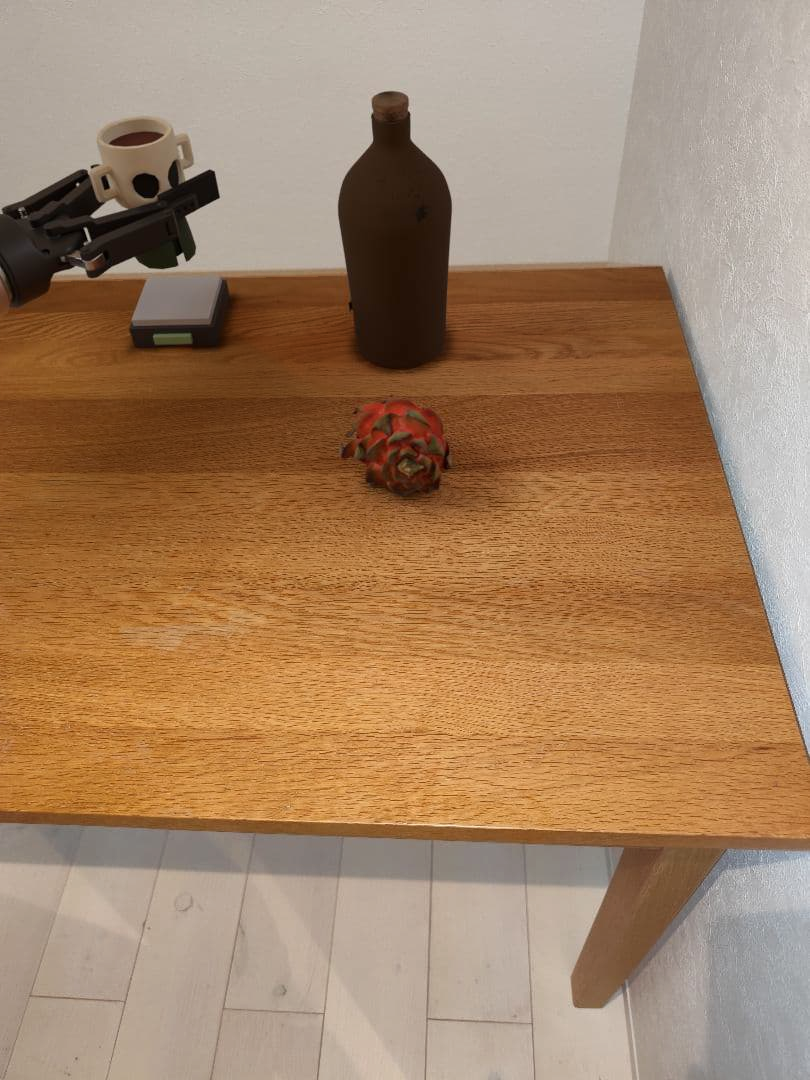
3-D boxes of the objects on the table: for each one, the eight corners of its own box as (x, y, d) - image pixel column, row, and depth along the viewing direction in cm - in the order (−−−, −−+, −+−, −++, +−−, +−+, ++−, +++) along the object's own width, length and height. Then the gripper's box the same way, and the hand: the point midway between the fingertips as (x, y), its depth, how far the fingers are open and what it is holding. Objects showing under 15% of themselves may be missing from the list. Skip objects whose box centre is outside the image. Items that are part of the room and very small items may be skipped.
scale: (133, 350, 95) (125, 325, 93) (151, 299, 101) (144, 274, 99) (217, 349, 95) (211, 323, 92) (230, 298, 101) (225, 272, 99)
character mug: (140, 292, 88) (102, 163, 78) (103, 266, 92) (62, 139, 82) (230, 250, 93) (204, 123, 83) (191, 226, 97) (163, 102, 87)
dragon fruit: (433, 534, 78) (364, 471, 86) (493, 457, 77) (419, 401, 85) (373, 496, 72) (305, 432, 80) (438, 412, 71) (363, 356, 79)
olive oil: (468, 329, 95) (474, 85, 77) (420, 385, 89) (413, 135, 71) (383, 303, 99) (368, 65, 80) (331, 355, 93) (303, 110, 75)
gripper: (-54, 271, 86) (137, 180, 97) (67, 349, 76) (263, 238, 88) (-90, 197, 80) (117, 109, 91) (37, 270, 71) (250, 163, 82)
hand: (188, 172), depth 89 cm, fingers closed on character mug, 7 cm apart
